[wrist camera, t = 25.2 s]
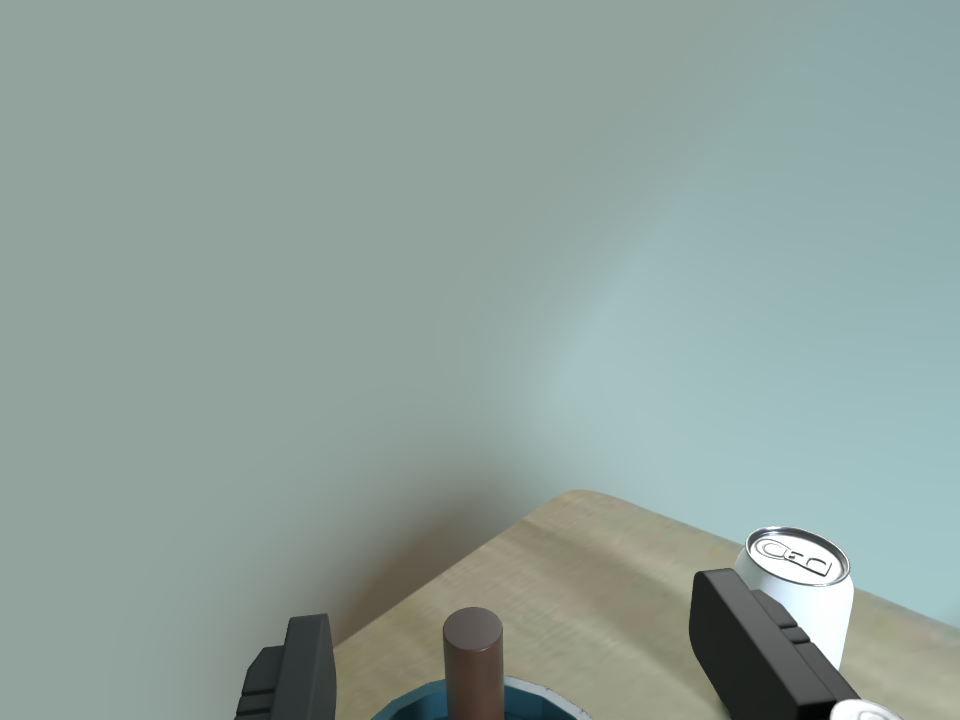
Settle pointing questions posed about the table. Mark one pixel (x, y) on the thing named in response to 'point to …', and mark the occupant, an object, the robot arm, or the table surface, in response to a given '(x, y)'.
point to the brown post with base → (474, 665)
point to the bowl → (527, 706)
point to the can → (802, 581)
